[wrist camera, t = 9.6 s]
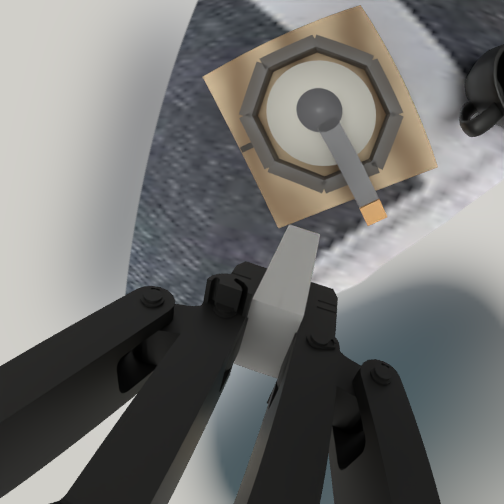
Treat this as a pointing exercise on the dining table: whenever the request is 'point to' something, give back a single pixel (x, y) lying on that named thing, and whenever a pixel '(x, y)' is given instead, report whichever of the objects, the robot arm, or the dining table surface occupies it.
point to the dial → (327, 124)
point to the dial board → (297, 172)
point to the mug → (484, 94)
